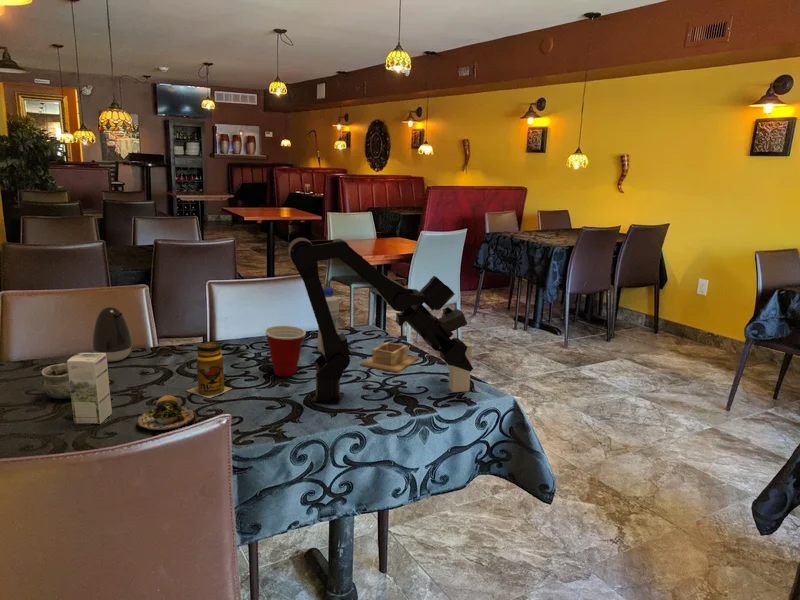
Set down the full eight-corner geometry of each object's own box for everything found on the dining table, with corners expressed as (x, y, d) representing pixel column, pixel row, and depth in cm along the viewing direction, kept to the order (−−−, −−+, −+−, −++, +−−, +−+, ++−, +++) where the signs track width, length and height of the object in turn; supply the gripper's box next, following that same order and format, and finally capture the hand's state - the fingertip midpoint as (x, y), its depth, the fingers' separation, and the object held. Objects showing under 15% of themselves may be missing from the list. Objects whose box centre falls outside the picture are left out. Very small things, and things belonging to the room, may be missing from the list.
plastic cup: (293, 382, 148) (293, 337, 145) (257, 376, 151) (256, 333, 149) (313, 369, 158) (313, 327, 155) (278, 364, 161) (278, 323, 159)
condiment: (210, 398, 136) (207, 350, 134) (185, 391, 140) (182, 344, 138) (232, 389, 142) (230, 343, 140) (208, 382, 147) (206, 337, 144)
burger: (124, 433, 118) (121, 399, 117) (157, 410, 130) (154, 379, 128) (178, 438, 117) (176, 404, 115) (206, 415, 128) (204, 383, 126)
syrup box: (113, 414, 126) (107, 351, 123) (100, 425, 121) (94, 360, 118) (86, 413, 126) (80, 351, 123) (72, 425, 121) (65, 360, 117)
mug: (53, 389, 139) (48, 350, 137) (109, 386, 142) (105, 348, 140) (37, 405, 130) (32, 363, 128) (97, 402, 133) (93, 361, 131)
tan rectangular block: (452, 392, 144) (454, 346, 141) (448, 387, 147) (450, 343, 144) (469, 391, 145) (471, 345, 142) (465, 386, 148) (467, 342, 145)
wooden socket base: (397, 373, 157) (397, 357, 156) (359, 365, 162) (360, 350, 161) (419, 359, 169) (419, 344, 168) (383, 352, 174) (384, 338, 173)
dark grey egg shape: (107, 367, 155) (102, 313, 152) (85, 360, 161) (80, 307, 157) (141, 357, 164) (137, 306, 161) (119, 351, 169) (115, 301, 166)
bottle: (312, 353, 172) (311, 288, 167) (325, 347, 178) (325, 284, 173) (331, 356, 169) (330, 290, 164) (343, 351, 175) (343, 286, 170)
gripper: (460, 309, 131) (502, 352, 136) (436, 292, 149) (474, 331, 154) (426, 343, 131) (469, 386, 136) (406, 322, 149) (445, 360, 154)
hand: (465, 363), depth 145 cm, fingers open, 9 cm apart
